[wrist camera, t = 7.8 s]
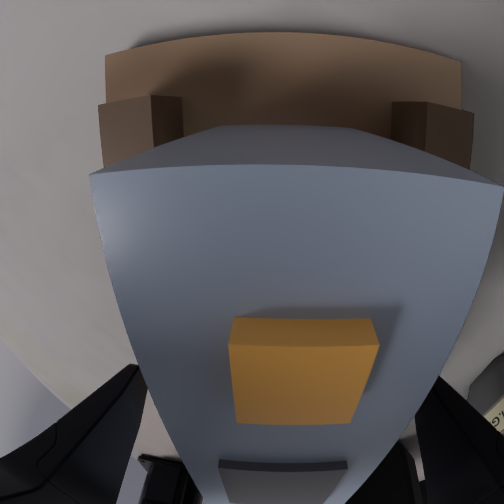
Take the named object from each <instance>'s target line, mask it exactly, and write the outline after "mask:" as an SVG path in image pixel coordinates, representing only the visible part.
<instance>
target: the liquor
mask: <svg viewBox="0 0 504 504" xmlns="http://www.w3.org/2000/svg"><path fill="white" fill-rule="evenodd" d="M467 402H469V403H470V404H471V405H472V406H473V407H474V408H475V409H476V410H477V411H478V412H479V413H480V414H481V415H482V416H484V417H485V418H486V419H487V420H488V421H489V422H490V423H491V424H492V425H493V426H494V427H495V428H496V429H497V431H499V432H500V433H501V434H502V435H504V354H503V355H501V356H499V357H498V358H496V359H494V360H493V361H492V362H491V363H490V364H489V365H488V367H487V368H486V369H485V370H484V371H483V372H482V373H481V374H480V375H479V377H478V378H477V379H476V380H475V381H474V382H473V383H472V384H471V385H470V389H469V394H468V400H467Z"/></svg>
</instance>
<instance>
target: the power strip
mask: <svg viewBox="0 0 504 504" xmlns="http://www.w3.org/2000/svg"><path fill="white" fill-rule="evenodd" d="M89 178H90V185H91V191H92V197H93V203H94V208H95V213H96V218H97V223H98V228H99V233H100V238H101V242H102V246H103V251H104V255H105V259H106V263H107V267H108V271H109V275H110V278H111V282H112V286H113V289H114V293H115V296H116V299H117V303H118V306H119V309H120V313H121V316H122V319H123V322H124V325H125V328H126V331H127V334H128V337H129V340H130V343H131V346H132V348H133V351H134V354H135V357H136V359H137V362H138V365H139V367H140V370H141V372H142V375H143V377H144V380H145V382H146V385H147V387H148V390H149V392H150V394H151V397H152V399H153V401H154V404H155V406H156V408H157V410H158V413H159V415H160V417H161V419H162V421H163V423H164V426H165V428H166V430H167V432H168V434H169V436H170V438H171V440H172V442H173V444H174V446H175V448H176V450H177V452H178V454H179V456H180V458H181V459H182V461H183V463H184V465H185V467H186V469H187V470H188V472H189V474H190V476H191V478H192V479H193V481H194V483H195V485H196V486H197V488H198V490H199V491H200V493H201V495H202V496H203V498H204V500H205V501H206V503H207V504H345V503H346V501H347V500H348V499H349V498H350V497H351V496H352V495H353V494H354V493H355V492H356V491H357V490H358V489H359V487H360V486H361V485H362V484H363V483H364V482H365V481H366V480H367V478H368V477H369V476H370V475H371V474H372V472H373V471H374V470H375V469H376V468H377V466H378V465H379V464H380V463H381V461H382V460H383V459H384V458H385V456H386V455H387V454H388V452H389V451H390V450H391V448H392V447H393V446H394V444H395V443H396V442H397V440H398V439H399V438H400V436H401V435H402V433H403V432H404V430H405V429H406V428H407V426H408V425H409V423H410V422H411V420H412V419H413V417H414V416H415V414H416V413H417V411H418V409H419V408H420V406H421V405H422V403H423V401H424V400H425V398H426V396H427V395H428V393H429V391H430V390H431V388H432V386H433V384H434V383H435V381H436V379H437V377H438V376H439V374H440V372H441V370H442V368H443V366H444V364H445V362H446V360H447V358H448V356H449V354H450V352H451V350H452V348H453V346H454V344H455V342H456V340H457V338H458V336H459V333H460V331H461V329H462V327H463V324H464V322H465V320H466V317H467V315H468V313H469V310H470V308H471V305H472V303H473V300H474V297H475V295H476V292H477V289H478V286H479V284H480V281H481V278H482V275H483V272H484V269H485V266H486V262H487V259H488V256H489V252H490V249H491V245H492V242H493V238H494V234H495V230H496V226H497V222H498V218H499V213H500V209H501V204H502V199H503V193H504V187H503V186H501V185H499V184H498V183H496V182H494V181H491V180H489V179H487V178H485V177H483V176H481V175H479V174H477V173H475V172H472V171H470V170H468V169H466V168H463V167H461V166H459V165H457V164H454V163H452V162H449V161H447V160H445V159H442V158H440V157H437V156H435V155H432V154H429V153H427V152H424V151H421V150H419V149H416V148H413V147H410V146H408V145H405V144H402V143H399V142H396V141H393V140H390V139H387V138H384V137H381V136H377V135H374V134H371V133H367V132H364V131H361V130H357V129H354V128H344V127H330V126H311V125H222V126H218V127H215V128H211V129H208V130H205V131H202V132H198V133H195V134H192V135H189V136H186V137H183V138H180V139H177V140H174V141H171V142H169V143H166V144H163V145H160V146H157V147H155V148H152V149H149V150H147V151H144V152H141V153H139V154H136V155H134V156H131V157H129V158H126V159H124V160H121V161H119V162H117V163H114V164H112V165H109V166H107V167H105V168H103V169H100V170H98V171H96V172H94V173H91V174H89Z"/></svg>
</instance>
